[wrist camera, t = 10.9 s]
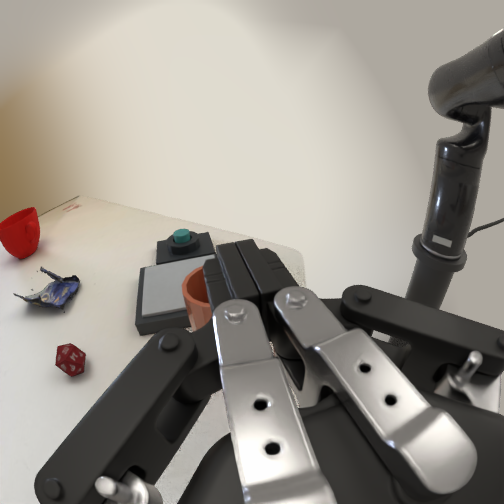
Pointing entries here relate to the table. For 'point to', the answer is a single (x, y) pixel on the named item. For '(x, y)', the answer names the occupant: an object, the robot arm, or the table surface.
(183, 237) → the button
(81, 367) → the dice
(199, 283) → the cup
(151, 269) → the scale
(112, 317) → the table surface
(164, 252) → the pad
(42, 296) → the snack package
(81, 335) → the table surface
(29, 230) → the ceramic cup
